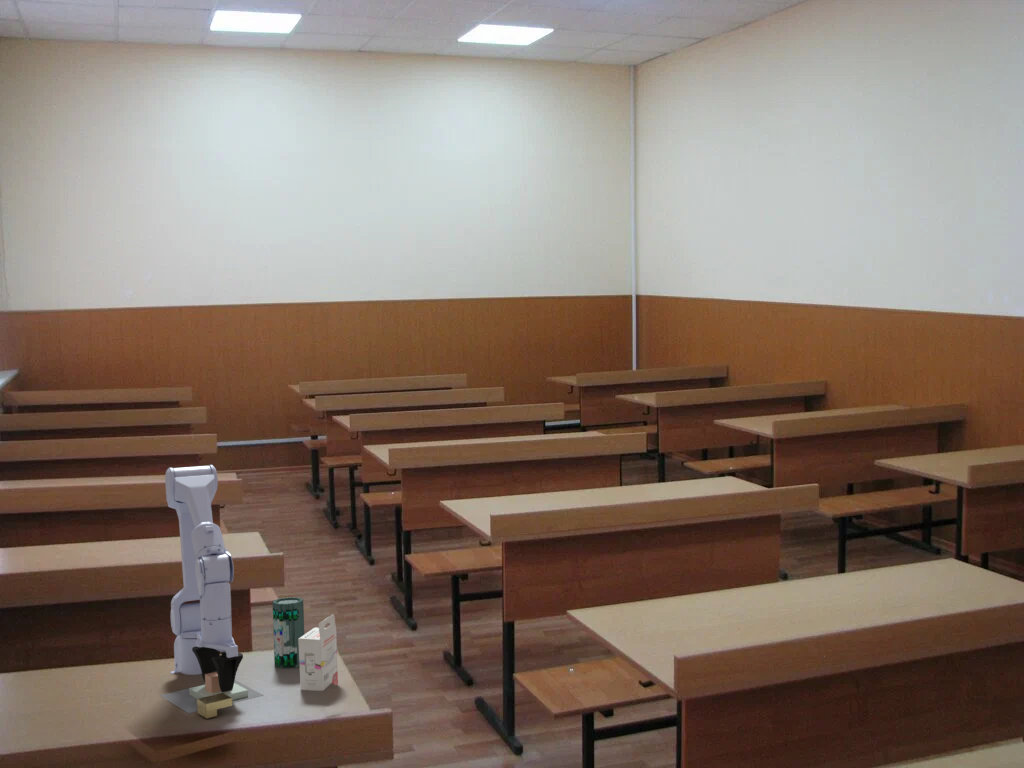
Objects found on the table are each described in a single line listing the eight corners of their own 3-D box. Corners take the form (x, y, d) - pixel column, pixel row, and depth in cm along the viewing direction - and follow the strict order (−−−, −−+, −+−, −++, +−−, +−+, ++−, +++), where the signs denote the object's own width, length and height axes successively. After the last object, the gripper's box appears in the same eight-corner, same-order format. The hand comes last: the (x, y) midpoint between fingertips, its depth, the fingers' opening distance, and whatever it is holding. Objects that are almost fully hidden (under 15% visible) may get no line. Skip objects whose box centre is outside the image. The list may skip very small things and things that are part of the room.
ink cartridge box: (315, 683, 219) (313, 612, 218) (338, 684, 218) (336, 612, 217) (299, 697, 210) (296, 623, 210) (322, 698, 209) (320, 623, 209)
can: (269, 672, 227) (267, 601, 226) (291, 664, 232) (289, 596, 231) (288, 677, 223) (286, 605, 223) (310, 669, 228) (308, 599, 228)
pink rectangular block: (189, 694, 209) (188, 672, 209) (228, 685, 214) (227, 664, 214) (208, 705, 202) (207, 683, 202) (248, 696, 207) (247, 674, 207)
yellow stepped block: (197, 712, 197) (197, 698, 197) (223, 706, 200) (222, 692, 200) (206, 718, 194) (206, 704, 194) (232, 711, 197) (232, 697, 197)
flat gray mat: (160, 702, 209) (159, 695, 209) (232, 685, 218) (232, 678, 218) (188, 721, 198) (188, 713, 198) (263, 702, 207) (263, 695, 207)
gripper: (181, 613, 210) (183, 682, 211) (212, 627, 199) (214, 700, 200) (215, 607, 215) (217, 674, 215) (247, 620, 204) (249, 691, 204)
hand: (218, 686), depth 208 cm, fingers open, 7 cm apart
